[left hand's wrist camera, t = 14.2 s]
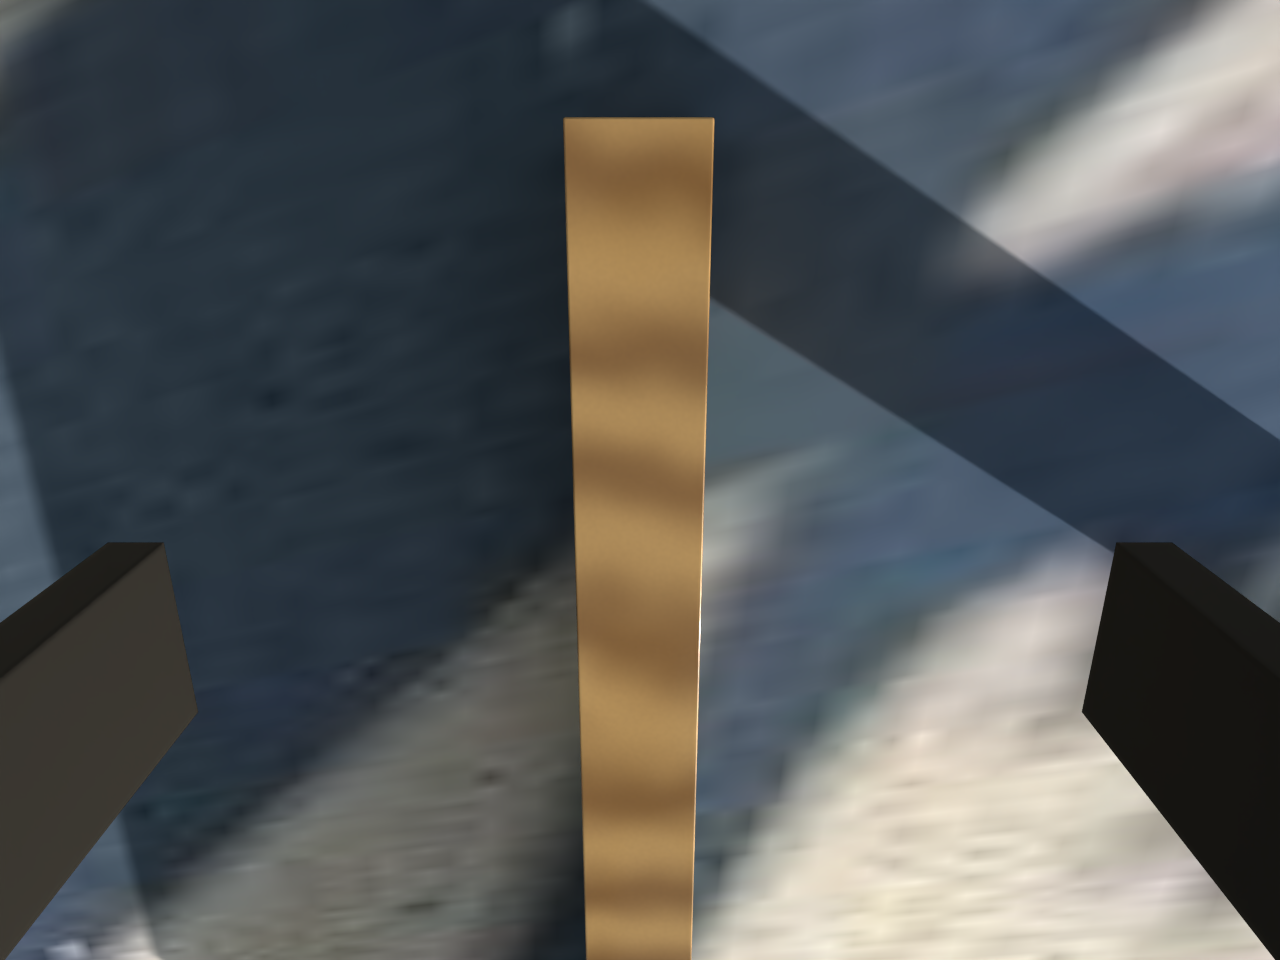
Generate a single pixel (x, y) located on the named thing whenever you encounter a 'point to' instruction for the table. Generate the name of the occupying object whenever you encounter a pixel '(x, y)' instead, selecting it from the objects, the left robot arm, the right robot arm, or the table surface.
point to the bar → (638, 513)
